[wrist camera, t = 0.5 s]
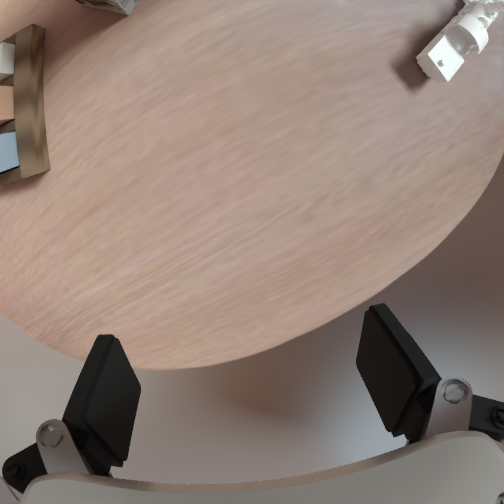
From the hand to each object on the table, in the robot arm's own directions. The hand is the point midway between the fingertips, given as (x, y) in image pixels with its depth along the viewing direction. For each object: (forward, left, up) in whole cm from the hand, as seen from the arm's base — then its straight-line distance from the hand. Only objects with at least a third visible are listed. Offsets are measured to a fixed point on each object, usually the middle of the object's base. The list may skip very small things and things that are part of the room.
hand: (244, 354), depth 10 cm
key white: (-25, -32, -27) cm, 48 cm away
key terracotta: (-18, -32, -27) cm, 45 cm away
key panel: (-18, -32, -30) cm, 47 cm away
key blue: (-11, -32, -27) cm, 43 cm away
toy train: (-28, +39, -30) cm, 57 cm away
